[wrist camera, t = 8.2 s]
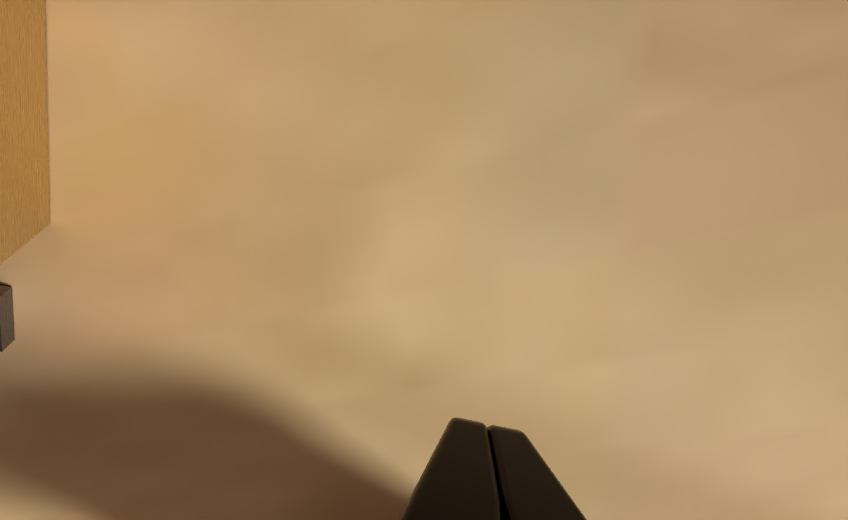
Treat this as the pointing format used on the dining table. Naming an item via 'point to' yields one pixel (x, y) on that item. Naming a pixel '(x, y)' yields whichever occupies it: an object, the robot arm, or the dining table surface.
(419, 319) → the dining table surface
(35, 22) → the valve body
